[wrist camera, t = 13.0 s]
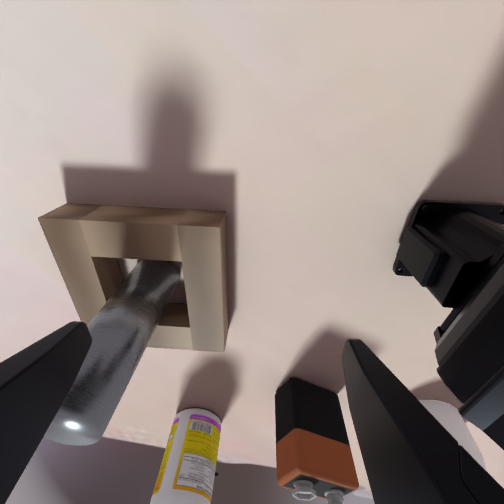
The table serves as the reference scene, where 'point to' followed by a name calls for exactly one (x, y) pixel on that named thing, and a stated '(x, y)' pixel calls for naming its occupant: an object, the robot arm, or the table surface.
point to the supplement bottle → (189, 459)
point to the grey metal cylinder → (114, 352)
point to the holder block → (150, 248)
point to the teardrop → (454, 426)
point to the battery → (312, 443)
